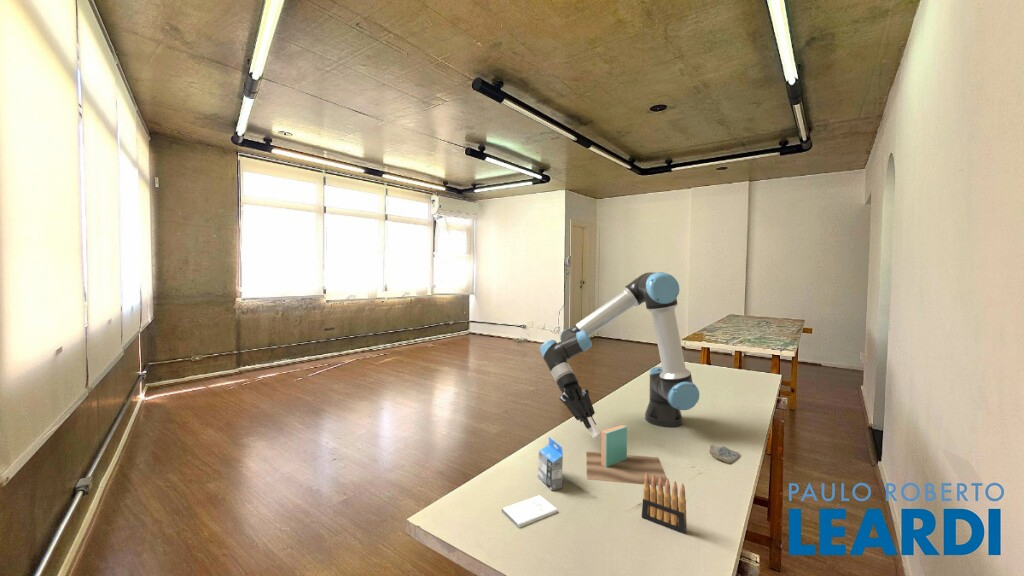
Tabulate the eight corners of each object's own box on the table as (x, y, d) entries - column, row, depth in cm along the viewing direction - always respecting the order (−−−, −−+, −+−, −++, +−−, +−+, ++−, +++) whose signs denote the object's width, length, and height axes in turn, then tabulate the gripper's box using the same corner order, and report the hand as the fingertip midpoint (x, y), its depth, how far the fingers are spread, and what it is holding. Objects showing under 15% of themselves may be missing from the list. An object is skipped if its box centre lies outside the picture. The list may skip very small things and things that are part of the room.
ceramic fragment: (712, 442, 147) (741, 448, 140) (713, 451, 147) (743, 457, 139) (698, 450, 140) (728, 456, 133) (699, 459, 140) (729, 466, 133)
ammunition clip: (641, 517, 104) (642, 472, 104) (643, 514, 106) (644, 469, 105) (684, 534, 98) (685, 486, 97) (686, 530, 99) (687, 482, 99)
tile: (601, 464, 131) (601, 431, 130) (621, 456, 137) (621, 424, 136) (606, 467, 129) (606, 433, 129) (626, 459, 135) (627, 426, 134)
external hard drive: (501, 513, 107) (539, 499, 113) (518, 530, 100) (557, 514, 106) (501, 507, 107) (539, 493, 113) (518, 524, 100) (557, 508, 106)
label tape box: (537, 477, 125) (537, 438, 124) (548, 474, 126) (549, 436, 126) (551, 491, 117) (551, 449, 116) (563, 488, 118) (563, 447, 118)
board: (586, 454, 140) (586, 451, 140) (658, 460, 136) (658, 457, 136) (586, 482, 122) (586, 479, 122) (670, 490, 117) (670, 486, 117)
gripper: (572, 380, 157) (603, 436, 144) (546, 385, 150) (577, 445, 137) (582, 369, 153) (615, 427, 140) (556, 374, 145) (588, 435, 132)
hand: (596, 436), depth 138 cm, fingers closed
